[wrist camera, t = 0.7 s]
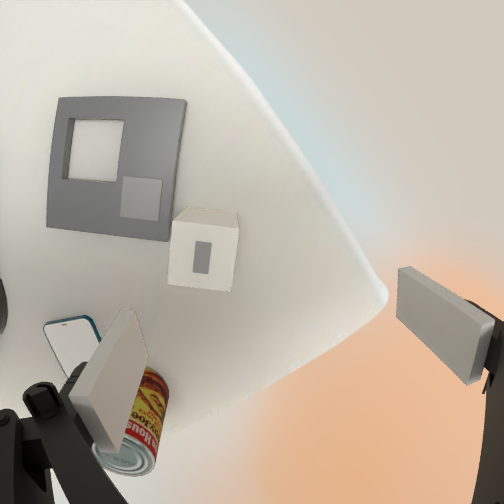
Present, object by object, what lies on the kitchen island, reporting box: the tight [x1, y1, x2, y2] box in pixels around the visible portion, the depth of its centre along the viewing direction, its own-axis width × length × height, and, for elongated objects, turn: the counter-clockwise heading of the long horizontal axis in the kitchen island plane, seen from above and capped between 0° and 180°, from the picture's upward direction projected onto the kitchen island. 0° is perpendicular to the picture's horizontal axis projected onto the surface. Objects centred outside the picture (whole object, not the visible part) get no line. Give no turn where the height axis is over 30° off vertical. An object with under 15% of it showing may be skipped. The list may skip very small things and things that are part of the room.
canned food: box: [91, 367, 169, 477], centre depth 31 cm, size 8×8×12 cm
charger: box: [167, 206, 240, 292], centre depth 29 cm, size 5×5×9 cm
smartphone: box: [43, 315, 101, 378], centre depth 36 cm, size 8×1×16 cm
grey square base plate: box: [46, 96, 187, 242], centre depth 29 cm, size 14×14×2 cm
